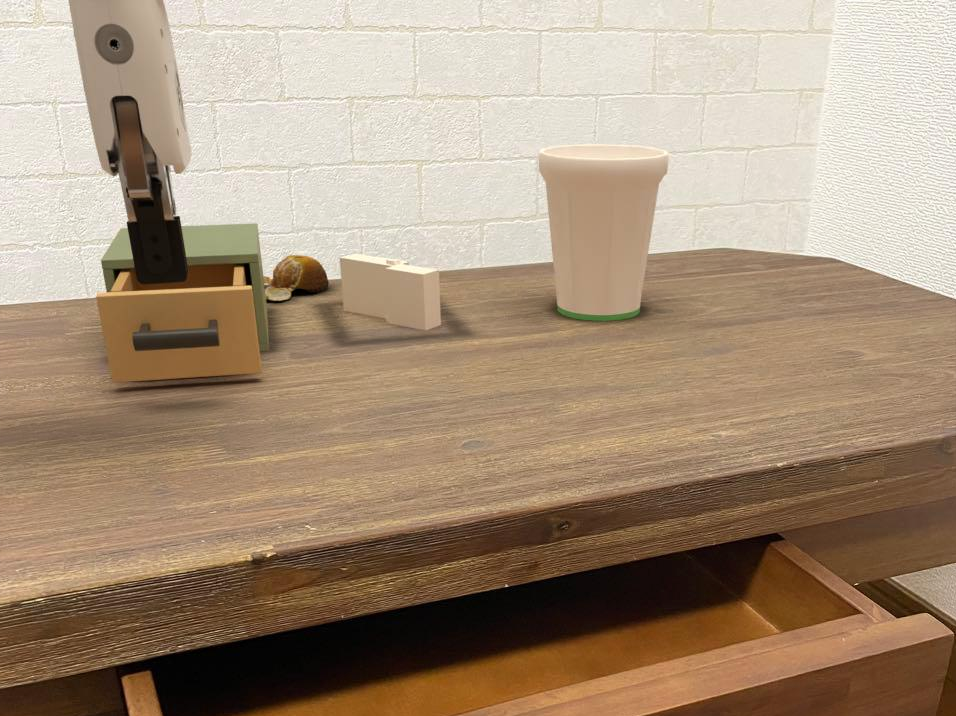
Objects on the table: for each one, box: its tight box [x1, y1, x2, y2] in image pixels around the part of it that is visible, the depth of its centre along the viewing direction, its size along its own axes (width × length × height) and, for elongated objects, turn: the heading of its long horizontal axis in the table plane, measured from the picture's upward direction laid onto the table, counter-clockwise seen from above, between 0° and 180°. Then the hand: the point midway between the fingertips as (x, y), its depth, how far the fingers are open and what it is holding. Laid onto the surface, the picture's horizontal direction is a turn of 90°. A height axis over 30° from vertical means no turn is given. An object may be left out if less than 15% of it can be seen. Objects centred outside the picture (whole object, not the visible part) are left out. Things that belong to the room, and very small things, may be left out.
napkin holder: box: [339, 253, 442, 331], centre depth 101 cm, size 15×11×6 cm
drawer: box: [95, 263, 263, 384], centre depth 85 cm, size 18×11×7 cm, turn 14°
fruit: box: [263, 254, 330, 302], centre depth 111 cm, size 8×8×4 cm
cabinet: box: [100, 223, 270, 352], centre depth 95 cm, size 15×13×9 cm
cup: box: [538, 143, 670, 322], centre depth 102 cm, size 12×12×15 cm
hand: (163, 279), depth 70 cm, fingers closed
